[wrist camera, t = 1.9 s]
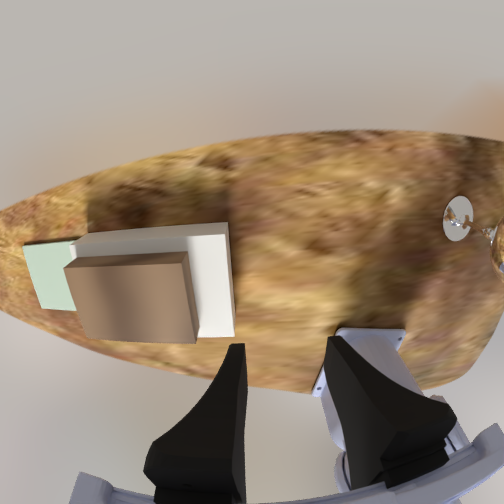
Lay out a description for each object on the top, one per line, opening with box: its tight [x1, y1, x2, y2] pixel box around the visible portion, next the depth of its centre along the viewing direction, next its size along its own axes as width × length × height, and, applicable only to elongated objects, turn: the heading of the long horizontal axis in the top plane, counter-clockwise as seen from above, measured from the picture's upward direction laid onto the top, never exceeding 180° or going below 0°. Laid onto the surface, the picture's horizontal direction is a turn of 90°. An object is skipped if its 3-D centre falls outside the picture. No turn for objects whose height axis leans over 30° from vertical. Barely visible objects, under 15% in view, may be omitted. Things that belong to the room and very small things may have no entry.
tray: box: [69, 222, 235, 337], centre depth 20 cm, size 12×8×3 cm, turn 93°
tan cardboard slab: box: [63, 251, 200, 344], centre depth 18 cm, size 9×6×2 cm, turn 93°
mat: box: [22, 240, 77, 311], centre depth 21 cm, size 9×7×1 cm
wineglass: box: [443, 196, 504, 283], centre depth 15 cm, size 6×6×12 cm
